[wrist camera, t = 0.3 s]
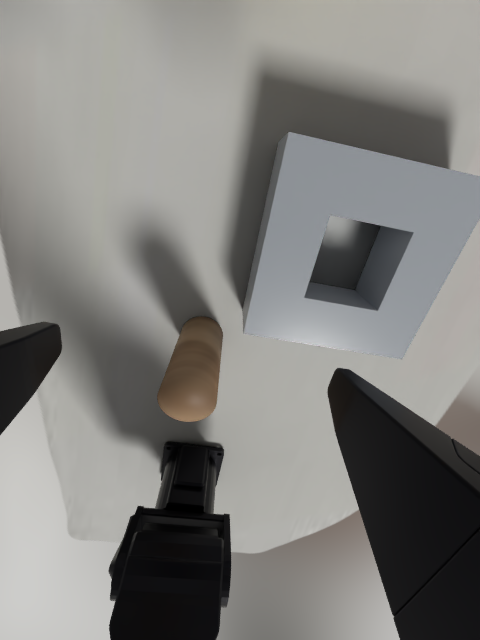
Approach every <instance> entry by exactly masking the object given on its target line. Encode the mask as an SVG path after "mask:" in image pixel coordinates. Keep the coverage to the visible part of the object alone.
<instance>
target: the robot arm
mask: <svg viewBox="0 0 480 640" xmlns="http://www.w3.org/2000/svg"><path fill="white" fill-rule="evenodd" d="M61 350H62V343H61V332H60V327H59V325H57V324H55V323H49V322H40V323H35V324H31V325H26V326H22V327H18V328H13V329H8V330H4V331H0V435H1V434H2V432H3V431H4V430H5V429H6V428H7V426H8V425H9V424H10V423H11V421H12V420H13V419H14V418H15V417H16V415H17V414H18V413H19V412H20V410H21V409H22V408H23V407H24V406H25V405H26V403H27V402H28V401H29V399H30V398H31V397H32V396H33V394H34V393H35V392H36V390H37V389H38V387H39V386H40V384H41V383H42V381H43V380H44V378H45V377H46V375H47V374H48V372H49V371H50V369H51V368H52V366H53V364H54V363H55V361H56V360H57V358H58V357H59V355H60V353H61ZM328 398H329V403H330V408H331V413H332V418H333V423H334V428H335V433H336V436H337V440H338V443H339V446H340V450H341V453H342V456H343V459H344V462H345V465H346V469H347V472H348V475H349V478H350V481H351V484H352V488H353V491H354V494H355V497H356V500H357V503H358V507H359V510H360V513H361V516H362V519H363V522H364V526H365V529H366V532H367V535H368V538H369V541H370V545H371V548H372V551H373V554H374V557H375V561H376V564H377V567H378V570H379V573H380V576H381V580H382V583H383V586H384V589H385V592H386V596H387V599H388V602H389V605H390V608H391V611H392V614H393V616H394V622H395V625H396V628H397V631H398V634H399V638H400V640H480V456H479V455H477V454H475V453H474V452H473V451H471V450H469V449H468V448H466V447H465V446H463V445H462V444H460V443H459V442H457V441H456V440H454V439H451V438H450V436H448V435H447V434H445V433H444V432H442V431H441V430H439V429H438V428H436V427H435V426H433V425H432V424H430V423H429V422H427V421H426V420H424V419H423V418H421V417H420V416H418V415H417V414H415V413H414V412H412V411H411V410H409V409H408V408H406V407H405V406H403V405H402V404H400V403H399V402H397V401H396V400H394V399H393V398H391V397H390V396H388V395H387V394H385V393H384V392H382V391H381V390H379V389H378V388H376V387H375V386H373V385H372V384H370V383H369V382H367V381H366V380H364V379H363V378H361V377H360V376H358V375H357V374H355V373H354V372H352V371H351V370H349V369H343V368H337V369H336V370H335V372H334V374H333V376H332V379H331V381H330V384H329V386H328ZM223 456H224V450H223V449H222V448H216V447H207V446H199V445H191V444H182V443H174V442H167V443H165V446H164V454H163V464H162V475H161V481H162V483H161V487H160V491H159V495H158V499H157V503H156V507H155V509H154V508H144V506H138V507H137V510H136V513H135V515H133V516H131V517H130V520H129V523H128V526H127V529H126V532H125V535H124V538H123V540H122V542H121V544H120V546H119V548H118V550H117V552H116V554H115V556H114V558H113V560H112V562H111V564H110V567H109V574H110V576H111V578H112V582H111V593H110V600H111V601H115V605H114V609H113V612H112V616H111V620H110V625H109V626H110V627H109V631H110V638H111V640H216V638H217V635H218V632H219V626H220V610H221V607H227V603H228V598H229V590H230V578H231V542H230V515H229V514H224V515H221V514H213V512H214V498H215V487H216V485H217V481H218V477H219V472H220V468H221V464H222V460H223Z"/></svg>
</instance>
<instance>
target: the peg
mask: <svg viewBox="0 0 480 640" xmlns="http://www.w3.org/2000/svg"><path fill="white" fill-rule="evenodd" d="M222 339H223V332H222V329H221V327H220V326H219V324H218V323H217V322H216V321H214V320H213V319H211V318H208V317H202V316H201V317H194V318H192V319H190V320H188V321H187V322H186V323H185V324H184V326H183V328H182V330H181V333H180V336H179V338H178V341H177V344H176V346H175V349H174V352H173V354H172V357H171V360H170V362H169V365H168V368H167V370H166V373H165V376H164V378H163V381H162V383H161V386H160V389H159V391H158V395H157V400H158V404H159V406H160V408H161V409H162V410H163V411H164V413H166V414H167V415H168V416H170V417H172V418H174V419H176V420H180V421H185V422H193V421H199V420H202V419H204V418H206V417H208V416H209V415H210V414H211V413H212V412H213V411H214V409H215V407H216V403H217V393H218V382H219V372H220V361H221V350H222Z"/></svg>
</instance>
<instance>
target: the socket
mask: <svg viewBox="0 0 480 640" xmlns="http://www.w3.org/2000/svg"><path fill="white" fill-rule="evenodd" d="M330 215H332V216H337V217H342V218H347V219H352V220H356V221H361V222H366V223H371V224H376V225H380V226H381V227H380V229H379V232H378V234H377V237H376V239H375V242H374V244H373V247H372V249H371V252H370V254H369V257H368V259H367V262H366V264H365V267H364V269H363V272H362V274H361V276H360V279H359V281H358V284H357V286H356V289H355V290H352V289H346V288H341V287H335V286H330V285H324V284H319V283H313V282H309V281H310V277H311V274H312V271H313V268H314V265H315V262H316V259H317V255H318V252H319V249H320V246H321V243H322V240H323V236H324V233H325V230H326V227H327V224H328V221H329V218H330ZM479 219H480V176H476V175H472V174H467V173H463V172H459V171H455V170H450V169H446V168H442V167H437V166H433V165H429V164H425V163H420V162H416V161H412V160H408V159H403V158H399V157H395V156H391V155H386V154H382V153H378V152H373V151H369V150H365V149H361V148H356V147H352V146H348V145H344V144H339V143H335V142H331V141H327V140H322V139H318V138H314V137H309V136H305V135H301V134H297V133H292V132H288V133H287V134H286V135H285V136H284V137H283V138H282V139H281V140H280V141H279V142H278V146H277V150H276V155H275V160H274V165H273V169H272V174H271V179H270V183H269V188H268V193H267V197H266V202H265V207H264V211H263V216H262V221H261V226H260V230H259V235H258V240H257V244H256V249H255V254H254V258H253V263H252V268H251V272H250V277H249V282H248V287H247V291H246V296H245V301H244V305H243V310H242V311H243V334H248V335H254V336H260V337H266V338H272V339H279V340H285V341H291V342H297V343H303V344H310V345H316V346H322V347H328V348H335V349H341V350H347V351H353V352H359V353H366V354H372V355H378V356H384V357H390V358H397V359H402V358H403V357H404V355H405V353H406V351H407V349H408V348H409V346H410V344H411V342H412V340H413V338H414V337H415V335H416V333H417V331H418V329H419V328H420V326H421V324H422V322H423V320H424V318H425V317H426V315H427V313H428V311H429V309H430V308H431V306H432V304H433V302H434V300H435V298H436V297H437V295H438V293H439V291H440V289H441V288H442V286H443V284H444V282H445V280H446V279H447V277H448V275H449V273H450V271H451V269H452V268H453V266H454V264H455V262H456V260H457V259H458V257H459V255H460V253H461V251H462V249H463V248H464V246H465V244H466V242H467V240H468V239H469V237H470V235H471V233H472V231H473V230H474V228H475V226H476V224H477V222H478V220H479Z"/></svg>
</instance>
